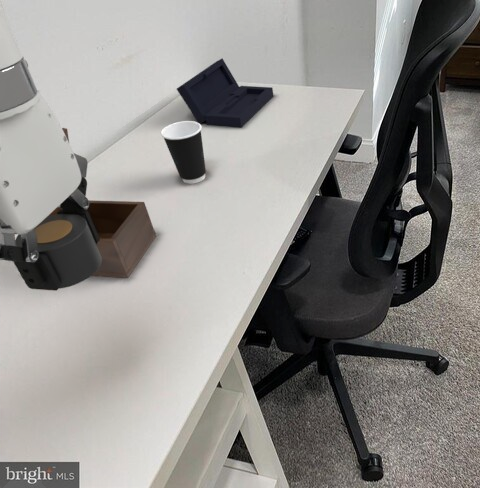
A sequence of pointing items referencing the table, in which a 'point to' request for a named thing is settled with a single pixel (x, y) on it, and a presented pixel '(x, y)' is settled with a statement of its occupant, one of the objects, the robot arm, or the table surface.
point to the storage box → (222, 97)
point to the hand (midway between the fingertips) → (66, 262)
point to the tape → (67, 247)
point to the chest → (121, 235)
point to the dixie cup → (186, 149)
